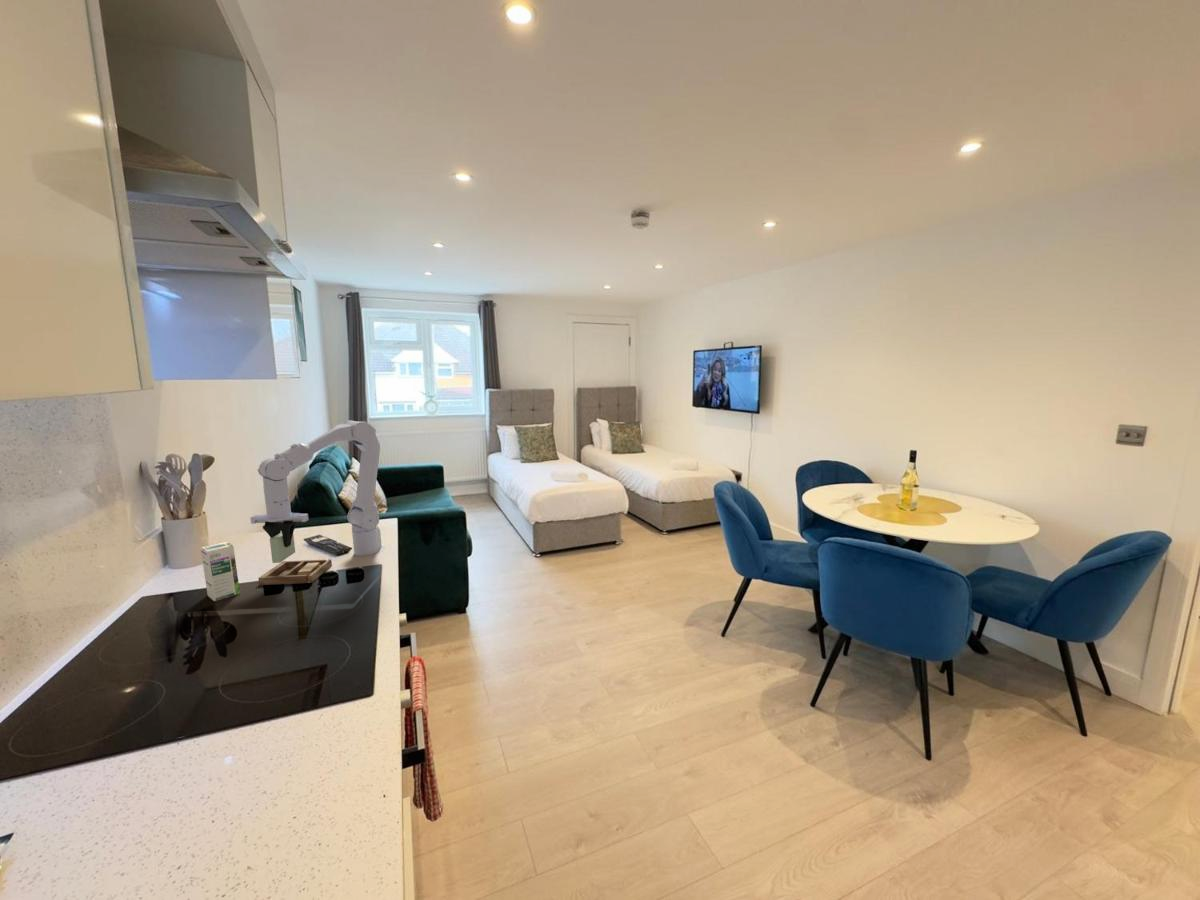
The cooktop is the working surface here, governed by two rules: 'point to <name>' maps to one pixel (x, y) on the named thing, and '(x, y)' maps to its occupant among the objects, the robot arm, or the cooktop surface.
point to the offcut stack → (309, 569)
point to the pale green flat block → (281, 548)
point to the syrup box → (220, 571)
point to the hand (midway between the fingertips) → (283, 546)
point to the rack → (293, 572)
